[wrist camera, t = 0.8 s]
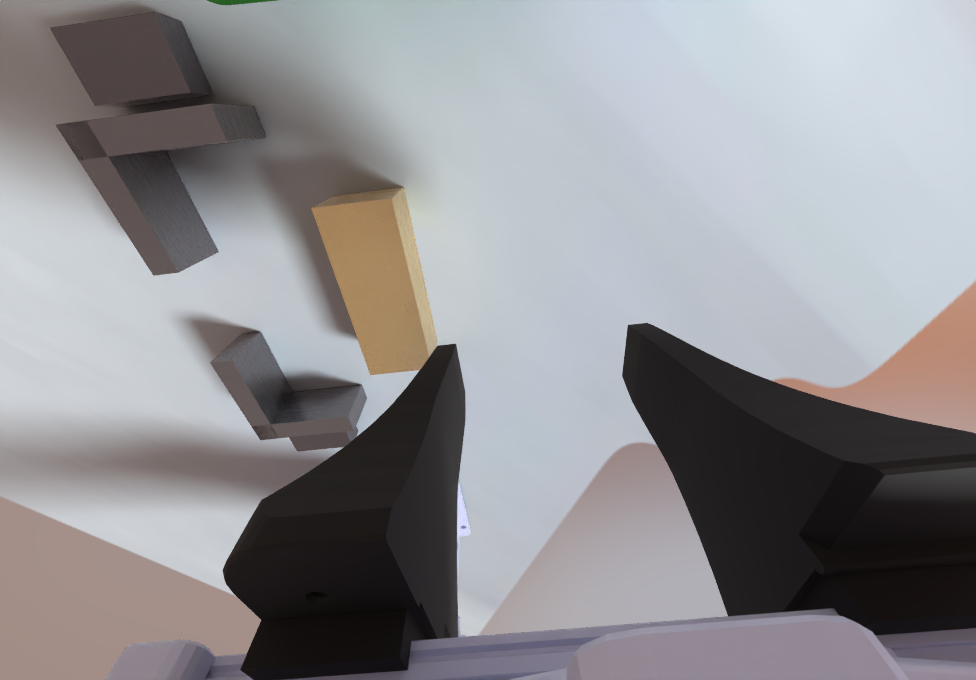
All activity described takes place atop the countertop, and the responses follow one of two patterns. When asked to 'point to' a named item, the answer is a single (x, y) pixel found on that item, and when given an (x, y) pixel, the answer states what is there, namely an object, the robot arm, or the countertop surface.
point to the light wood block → (379, 277)
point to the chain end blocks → (183, 198)
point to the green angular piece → (236, 1)
